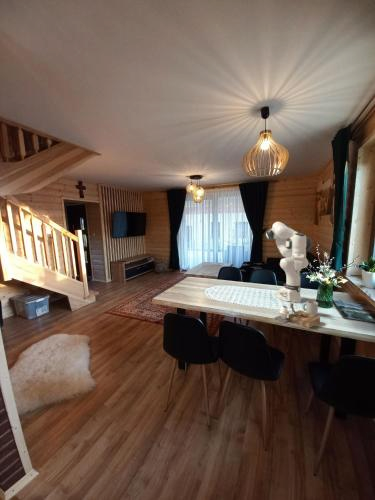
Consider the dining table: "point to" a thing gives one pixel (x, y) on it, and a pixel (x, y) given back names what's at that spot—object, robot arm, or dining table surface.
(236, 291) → the dining table surface
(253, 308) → the dining table surface
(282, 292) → the robot arm
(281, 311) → the plug
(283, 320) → the mat
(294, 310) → the clip
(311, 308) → the cup
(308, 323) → the socket block
